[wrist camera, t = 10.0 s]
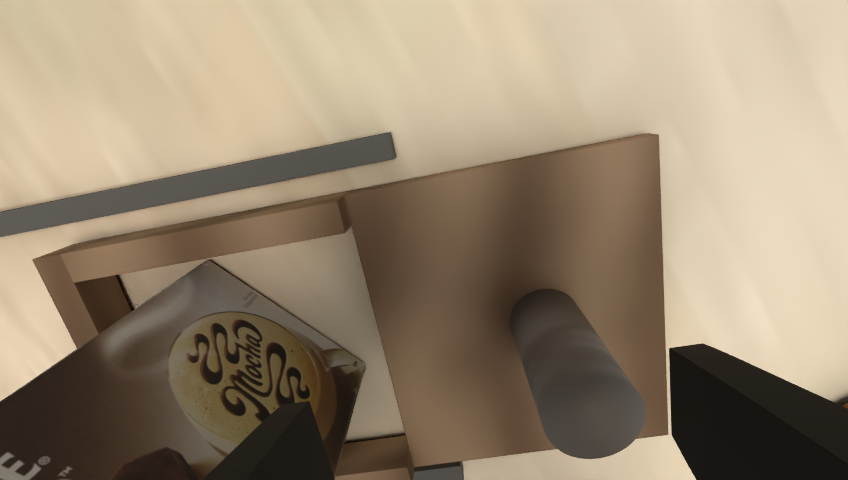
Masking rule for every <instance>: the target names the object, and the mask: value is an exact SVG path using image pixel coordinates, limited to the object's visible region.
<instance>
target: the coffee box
mask: <svg viewBox="0 0 848 480" xmlns="http://www.w3.org/2000/svg"><path fill="white" fill-rule="evenodd" d="M365 369H366V367H365V364H364V363H363V362H362V361H360V360H359V359H357V358H356V357H354V356H353V355H351V354H350V353H348V352H347V351H345V350H344V349H342V348H341V347H339V346H338V345H336V344H335V343H333V342H332V341H330V340H329V339H327V338H326V337H324V336H323V335H321V334H320V333H318V332H317V331H315V330H314V329H312V328H311V327H309V326H308V325H306V324H305V323H303V322H302V321H300V320H299V319H297V318H296V317H294V316H293V315H291V314H289V313H288V312H286V311H285V310H283V309H282V308H280V307H279V306H277V305H276V304H274V303H273V302H271V301H270V300H268V299H267V298H265V297H264V296H262V295H261V294H259V293H258V292H256V291H255V290H253V289H252V288H250V287H248V286H247V285H245V284H244V283H242V282H241V281H239V280H238V279H236V278H235V277H233V276H232V275H230V274H229V273H227V272H226V271H224V270H223V269H221V268H220V267H218V266H217V265H215V264H214V263H212V262H211V261H205V262H204V263H202V264H200V265H199V266H197V267H196V268H195V269H193V270H192V271H190V272H189V273H187V274H186V275H184V276H183V277H181V278H180V279H178V280H177V281H176V282H174V283H173V284H171V285H170V286H168V287H167V288H165V289H164V290H163V291H161V292H160V293H158V294H157V295H155V296H153V297H152V298H150V299H149V300H147V301H146V302H145V303H143V304H142V305H140V306H139V307H138V308H136V309H135V310H133V311H132V312H131V313H129V314H128V315H126V316H125V317H123V318H122V319H120V320H119V321H117V322H116V323H114V324H113V325H111V326H110V327H109V328H107V329H106V330H104V331H103V332H101V333H100V334H98V335H97V336H96V337H94V338H93V339H91V340H90V341H88V342H87V343H86V344H84V345H83V346H81V347H80V348H78V349H76V350H75V351H73V352H72V353H71V354H69V355H68V356H66V357H65V358H63V359H62V360H60V361H59V362H58V363H56V364H55V365H53V366H52V367H50V368H49V369H47V370H46V371H44V372H43V373H42V374H40V375H39V376H37V377H36V378H34V379H33V380H32V381H30V382H29V383H27V384H26V385H24V386H23V387H21V388H20V389H18V390H17V391H15V392H14V393H12V394H11V395H10V396H8V397H6V398H5V399H3V400H2V401H0V480H203V479H204V478H205V477H206V476H207V475H208V474H209V473H210V472H211V471H212V470H213V469H214V468H215V467H216V466H217V465H218V464H219V463H220V462H221V461H222V460H223V459H224V458H225V457H227V456H228V455H229V454H230V453H231V452H232V451H233V450H234V449H235V448H236V447H237V446H238V445H239V444H240V443H241V442H242V441H243V440H244V439H245V438H246V437H247V436H248V435H249V434H250V433H251V432H252V431H253V430H254V429H256V428H257V427H258V426H259V425H260V424H261V423H262V422H263V421H264V420H265V419H266V418H267V417H268V416H269V415H270V414H272V413H273V412H274V411H275V410H276V409H277V408H279V407H280V406H281V405H284V404H291V403H298V402H305V401H310V404H311V407H312V410H313V413H314V416H315V419H316V422H317V425H318V428H319V431H320V434H321V437H322V440H323V443H324V446H325V449H326V452H327V456H328V459H329V462H330V465H331V468H332V471H333V474H334V477H335V474H336V470H337V466H338V463H339V459H340V456H341V452H342V449H343V446H344V442H345V439H346V435H347V431H348V428H349V424H350V420H351V417H352V413H353V409H354V405H355V402H356V398H357V395H358V391H359V387H360V384H361V380H362V377H363V374H364V372H365Z"/></svg>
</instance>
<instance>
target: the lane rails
mask: <svg viewBox="0 0 848 480" xmlns="http://www.w3.org/2000/svg"><path fill="white" fill-rule="evenodd" d="M395 157H396V153H395V149H394V144H393V139H392V135H391V132H389V133H384V134H379V135H374V136H369V137H364V138H359V139H355V140H350V141H345V142H340V143H335V144H330V145H325V146H320V147H315V148H311V149H306V150H301V151H296V152H291V153H286V154H281V155H276V156H271V157H267V158H262V159H257V160H252V161H247V162H242V163H237V164H232V165H227V166H223V167H218V168H213V169H208V170H203V171H198V172H193V173H188V174H183V175H179V176H174V177H169V178H164V179H159V180H154V181H149V182H144V183H139V184H135V185H130V186H125V187H120V188H115V189H110V190H105V191H100V192H95V193H91V194H86V195H81V196H76V197H71V198H66V199H61V200H56V201H51V202H47V203H42V204H37V205H32V206H27V207H22V208H17V209H12V210H7V211H3V212H0V237H2V236H7V235H13V234H18V233H23V232H28V231H33V230H38V229H43V228H48V227H53V226H58V225H63V224H68V223H73V222H78V221H83V220H88V219H93V218H98V217H103V216H108V215H113V214H118V213H123V212H129V211H134V210H139V209H144V208H149V207H154V206H159V205H164V204H169V203H174V202H179V201H184V200H189V199H194V198H199V197H204V196H209V195H214V194H219V193H224V192H229V191H234V190H240V189H245V188H250V187H255V186H260V185H265V184H270V183H275V182H280V181H285V180H290V179H295V178H300V177H305V176H310V175H315V174H320V173H325V172H330V171H335V170H340V169H345V168H350V167H356V166H361V165H366V164H371V163H376V162H381V161H386V160H391V159H394V158H395ZM413 480H464V473H463V465H462V461H458V462H450V463H442V464H434V465H427V466H419V467H414V475H413Z"/></svg>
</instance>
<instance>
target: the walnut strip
mask: <svg viewBox="0 0 848 480" xmlns="http://www.w3.org/2000/svg"><path fill="white" fill-rule="evenodd" d="M351 225H352V229H353V233H354V236H355V240H356V244H357V248H358V252H359V256H360V260H361V264H362V267H363V271H364V275H365V279H366V283H367V287H368V291H369V294H370V298H371V302H372V306H373V310H374V314H375V318H376V322H377V325H378V329H379V333H380V337H381V341H382V345H383V349H384V353H385V356H386V360H387V364H388V368H389V372H390V376H391V380H392V384H393V387H394V391H395V395H396V399H397V403H398V407H399V411H400V415H401V418H402V422H403V426H404V430H405V434H406V436H399V437H391V438H384V439H377V440H369V441H362V442H354V443H347V444H344V446H343V449H342V452H341V456H340V459H339V463H338V466H337V470H336V474H335V480H413V475H414V467H419V466H427V465H434V464H442V463H450V462H458V461H466V460H474V459H482V458H489V457H497V456H505V455H513V454H521V453H529V452H536V451H544V450H552V449H558V450H560V451H561V452H563V453H565V454H567V455H570V456H573V457H577V458H583V459H596V458H602V457H607V456H610V455H613V454H615V453H617V452H619V451H621V450H623V449H624V448H626V447H627V446H629V445H630V444H631V443H632V442H633V441H634V440H635V439H639V438H646V437H654V436H662V435H668V412H667V380H666V349H665V317H664V285H663V253H662V221H661V189H660V158H659V135H658V134H650V133H648V134H643V135H638V136H632V137H627V138H622V139H617V140H612V141H606V142H601V143H596V144H591V145H586V146H580V147H575V148H570V149H565V150H560V151H555V152H549V153H544V154H539V155H534V156H529V157H523V158H518V159H513V160H508V161H503V162H498V163H492V164H487V165H482V166H477V167H472V168H466V169H461V170H456V171H451V172H446V173H440V174H435V175H430V176H425V177H420V178H415V179H409V180H404V181H399V182H394V183H389V184H383V185H378V186H373V187H368V188H363V189H358V190H352V191H347V192H342V193H337V194H332V195H326V196H321V197H316V198H311V199H306V200H300V201H295V202H290V203H285V204H280V205H275V206H269V207H264V208H259V209H254V210H249V211H243V212H238V213H233V214H228V215H223V216H218V217H212V218H207V219H202V220H197V221H192V222H186V223H181V224H176V225H171V226H166V227H160V228H155V229H150V230H145V231H140V232H135V233H129V234H124V235H119V236H114V237H109V238H103V239H98V240H93V241H88V242H83V243H78V244H73V245H70V246H68V247H65V248H62V249H60V250H57V251H54V252H52V253H49V254H46V255H43V256H41V257H38V258H35V259H33V262H34V264H35V266H36V268H37V270H38V272H39V274H40V276H41V278H42V280H43V282H44V284H45V286H46V288H47V290H48V292H49V294H50V296H51V298H52V300H53V302H54V304H55V306H56V308H57V310H58V312H59V314H60V316H61V317H62V319H63V321H64V323H65V325H66V327H67V329H68V331H69V333H70V335H71V337H72V339H73V341H74V343H75V345H76V347H77V349H78V348H80V347H81V346H83V345H84V344H86V343H87V342H88V341H90V340H91V339H93V338H94V337H96V336H97V335H98V334H100V333H101V332H103V331H104V330H106V329H107V328H109V327H110V326H111V325H113V324H114V323H116V322H117V321H119V320H120V319H122V318H123V317H125V316H126V315H128V314H129V313H131V312H132V311H131V309H130V307H129V305H128V302H127V300H126V298H125V296H124V293H123V291H122V289H121V287H120V284H119V282H118V280H117V278H116V276H115V275H118V274H124V273H129V272H135V271H140V270H146V269H151V268H157V267H162V266H168V265H173V264H178V263H184V262H189V261H195V260H200V259H206V258H211V257H217V256H222V255H228V254H233V253H238V252H244V251H249V250H255V249H260V248H266V247H271V246H277V245H282V244H288V243H293V242H298V241H304V240H309V239H315V238H320V237H326V236H331V235H337V234H342V233H345V232H346V231H347V230H348V228H349V227H350V226H351Z"/></svg>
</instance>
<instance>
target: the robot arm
mask: <svg viewBox="0 0 848 480" xmlns="http://www.w3.org/2000/svg"><path fill="white" fill-rule="evenodd" d="M669 357H670V392H671V428H672V436H673V438H674V440H675V442H676V444H677V445H678V447H679V449H680V451H681V453H682V455H683V457H684V458H685V460H686V462H687V464H688V466H689V467H690V469H691V471H692V473H693V474H694V476H695V478H696V480H848V408H846V407H843V406H841V405H839V404H836V403H834V402H832V401H830V400H828V399H825V398H823V397H821V396H819V395H816V394H814V393H812V392H810V391H808V390H805V389H803V388H801V387H799V386H797V385H795V384H792V383H790V382H788V381H786V380H784V379H781V378H779V377H777V376H775V375H773V374H771V373H768V372H766V371H764V370H762V369H760V368H758V367H755V366H753V365H751V364H749V363H747V362H745V361H742V360H740V359H738V358H736V357H734V356H731V355H729V354H727V353H725V352H722V351H720V350H718V349H715V348H713V347H710V346H708V345H705V344H696V345H689V346H682V347H675V348H669ZM203 480H335V477H334V474H333V471H332V468H331V465H330V462H329V459H328V456H327V452H326V449H325V446H324V443H323V440H322V437H321V434H320V431H319V428H318V425H317V422H316V419H315V416H314V413H313V410H312V407H311V404H310V401H305V402H298V403H291V404H284V405H281V406H280V407H279V408H277V409H276V410H275V411H274V412H273V413H272V414H270V415H269V416H268V417H267V418H266V419H265V420H264V421H263V422H262V423H261V424H260V425H259V426H258V427H257V428H256V429H254V430H253V431H252V432H251V433H250V434H249V435H248V436H247V437H246V438H245V439H244V440H243V441H242V442H241V443H240V444H239V445H238V446H237V447H236V448H235V449H234V450H233V451H232V452H231V453H230V454H229V455H228V456H227V457H225V458H224V459H223V460H222V461H221V462H220V463H219V464H218V465H217V466H216V467H215V468H214V469H213V470H212V471H211V472H210V473H209V474H208V475H207V476H206V477H205V478H204V479H203Z"/></svg>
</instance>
